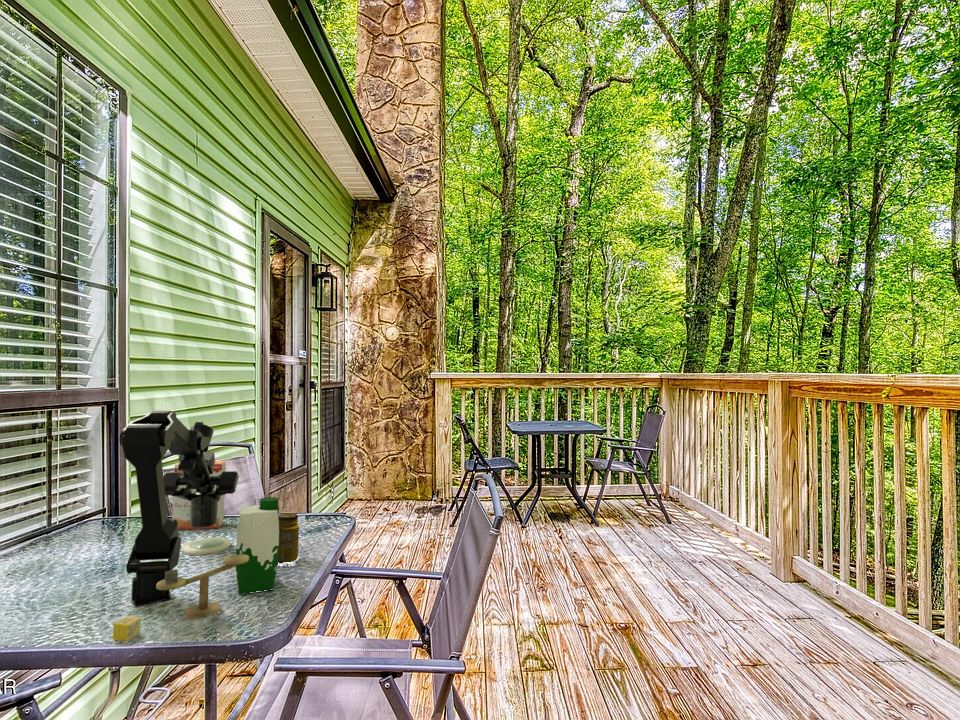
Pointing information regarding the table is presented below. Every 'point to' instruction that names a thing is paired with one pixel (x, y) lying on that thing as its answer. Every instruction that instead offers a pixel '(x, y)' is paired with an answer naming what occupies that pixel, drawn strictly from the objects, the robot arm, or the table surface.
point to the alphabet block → (126, 628)
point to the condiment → (288, 537)
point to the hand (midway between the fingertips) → (205, 499)
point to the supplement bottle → (203, 508)
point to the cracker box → (183, 506)
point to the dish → (206, 546)
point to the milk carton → (258, 546)
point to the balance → (204, 607)
